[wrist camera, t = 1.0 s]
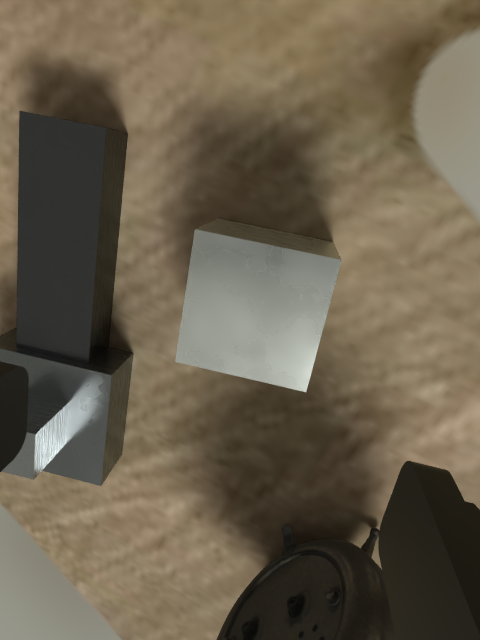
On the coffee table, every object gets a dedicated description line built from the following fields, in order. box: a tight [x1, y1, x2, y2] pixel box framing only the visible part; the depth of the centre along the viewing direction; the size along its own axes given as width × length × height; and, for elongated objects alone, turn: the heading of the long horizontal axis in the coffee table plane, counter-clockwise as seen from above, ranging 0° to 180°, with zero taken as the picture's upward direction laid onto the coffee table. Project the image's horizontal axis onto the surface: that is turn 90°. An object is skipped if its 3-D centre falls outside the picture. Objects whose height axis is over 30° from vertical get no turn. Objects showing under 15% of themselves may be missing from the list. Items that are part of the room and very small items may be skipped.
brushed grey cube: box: [175, 218, 341, 392], centre depth 20 cm, size 6×6×5 cm
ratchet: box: [0, 111, 133, 486], centre depth 21 cm, size 18×7×6 cm, turn 170°
